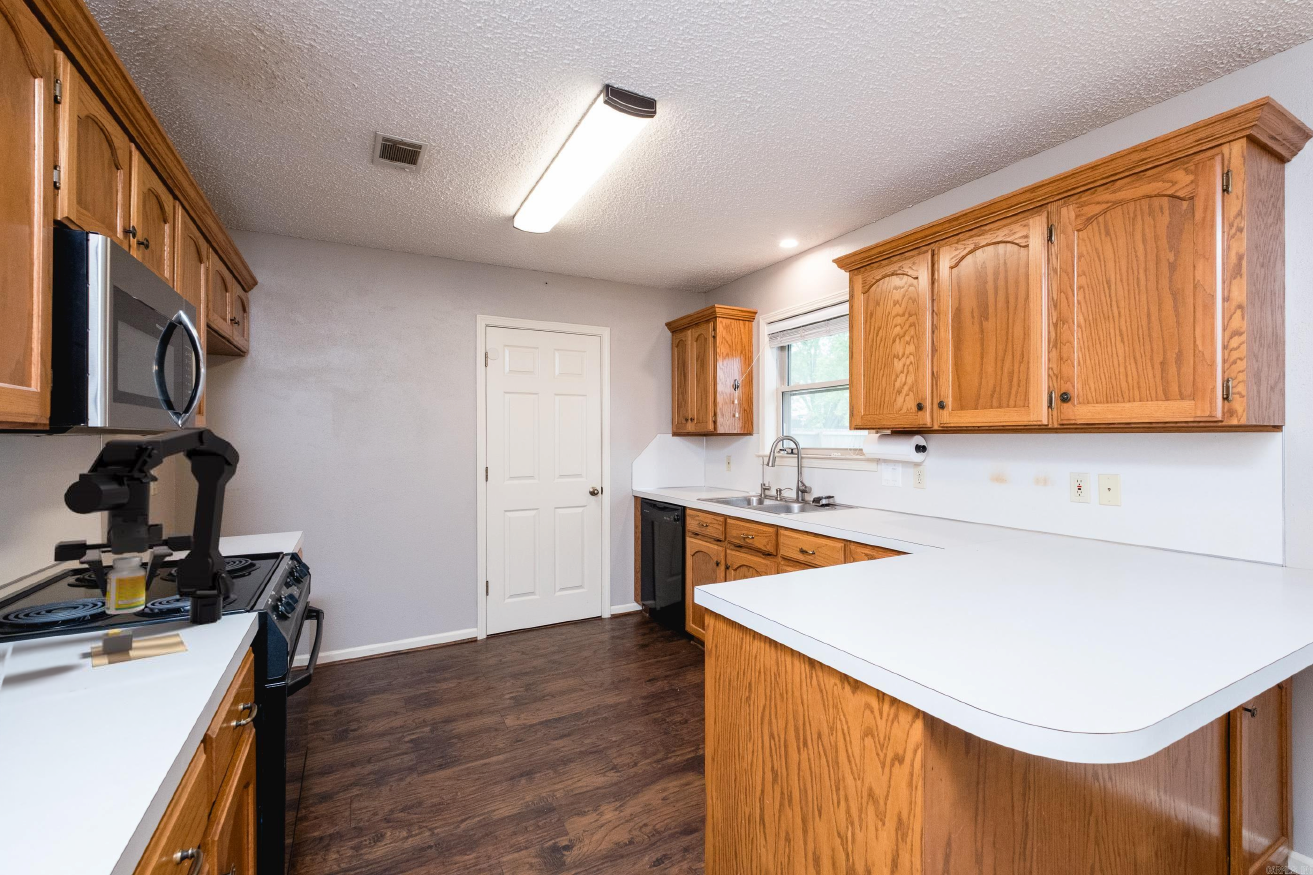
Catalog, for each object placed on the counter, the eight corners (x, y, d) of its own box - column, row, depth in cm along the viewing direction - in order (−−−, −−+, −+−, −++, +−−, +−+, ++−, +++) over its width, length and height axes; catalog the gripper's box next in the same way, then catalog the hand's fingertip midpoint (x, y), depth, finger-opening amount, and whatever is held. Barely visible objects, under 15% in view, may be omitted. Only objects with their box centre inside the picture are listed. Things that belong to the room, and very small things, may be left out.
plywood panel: (90, 651, 112) (91, 646, 112) (178, 636, 121) (178, 633, 121) (92, 671, 102) (92, 666, 102) (187, 654, 111) (187, 650, 111)
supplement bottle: (96, 614, 105) (98, 560, 105) (124, 606, 110) (126, 554, 110) (126, 614, 105) (128, 560, 105) (152, 606, 110) (154, 555, 110)
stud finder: (102, 649, 111) (102, 630, 111) (130, 644, 114) (131, 625, 114) (103, 654, 108) (103, 634, 108) (132, 649, 111) (132, 630, 111)
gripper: (55, 515, 96) (51, 612, 95) (199, 508, 109) (196, 593, 108) (56, 509, 104) (53, 598, 103) (191, 504, 117) (188, 583, 116)
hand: (125, 593), depth 108 cm, fingers closed on supplement bottle, 5 cm apart
